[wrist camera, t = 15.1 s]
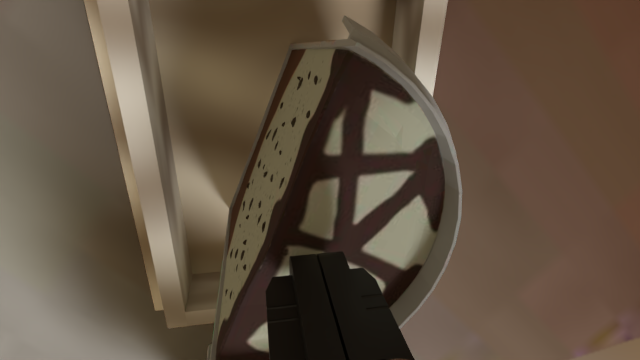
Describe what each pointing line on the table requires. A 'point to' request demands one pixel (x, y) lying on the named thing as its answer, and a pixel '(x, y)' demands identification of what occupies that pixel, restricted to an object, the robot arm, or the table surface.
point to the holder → (215, 112)
